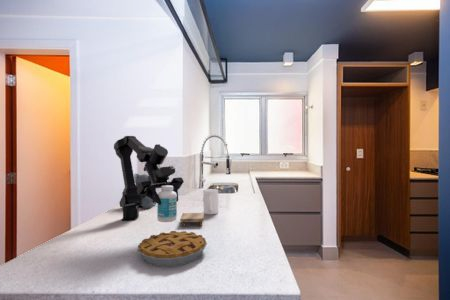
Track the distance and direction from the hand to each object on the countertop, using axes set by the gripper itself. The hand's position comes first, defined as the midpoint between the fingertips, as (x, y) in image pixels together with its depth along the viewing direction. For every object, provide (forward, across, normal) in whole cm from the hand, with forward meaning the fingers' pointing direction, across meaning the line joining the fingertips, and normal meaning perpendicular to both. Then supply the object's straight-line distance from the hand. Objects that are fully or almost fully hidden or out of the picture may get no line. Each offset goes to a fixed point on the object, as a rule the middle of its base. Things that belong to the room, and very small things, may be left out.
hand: (169, 202), depth 101 cm
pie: (+20, -8, -1) cm, 22 cm away
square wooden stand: (+4, +17, +15) cm, 23 cm away
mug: (-1, +34, +20) cm, 39 cm away
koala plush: (-31, +18, +51) cm, 62 cm away
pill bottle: (+4, 0, +6) cm, 7 cm away
